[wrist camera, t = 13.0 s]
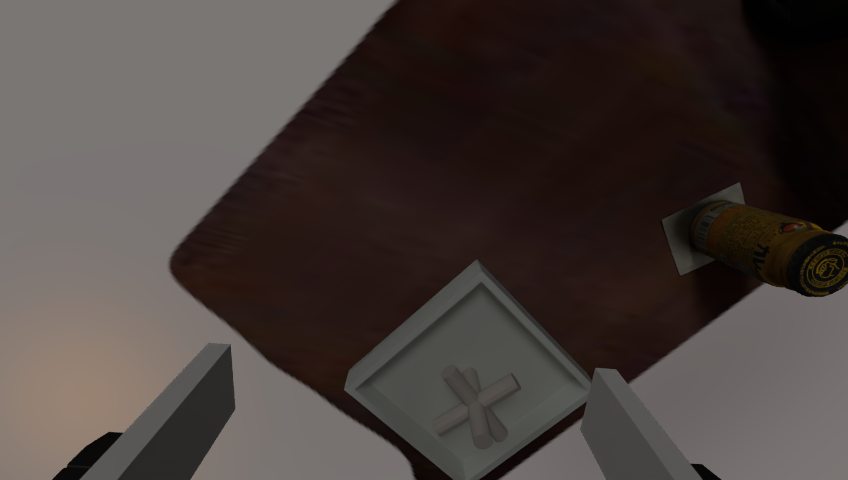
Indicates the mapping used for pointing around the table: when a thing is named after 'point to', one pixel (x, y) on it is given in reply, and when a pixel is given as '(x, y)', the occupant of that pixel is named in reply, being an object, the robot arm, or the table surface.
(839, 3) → the robot arm
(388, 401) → the tray
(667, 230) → the condiment
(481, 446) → the pipe connector
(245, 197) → the table surface
